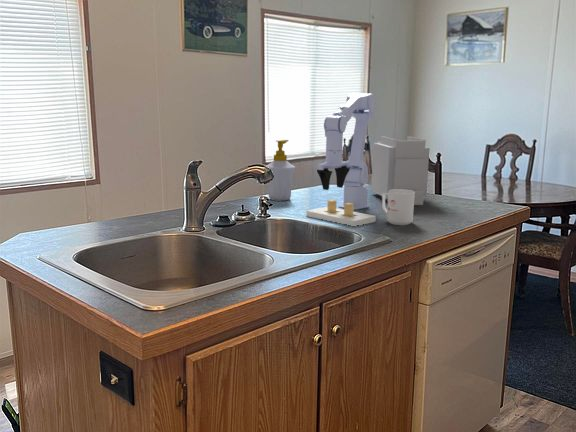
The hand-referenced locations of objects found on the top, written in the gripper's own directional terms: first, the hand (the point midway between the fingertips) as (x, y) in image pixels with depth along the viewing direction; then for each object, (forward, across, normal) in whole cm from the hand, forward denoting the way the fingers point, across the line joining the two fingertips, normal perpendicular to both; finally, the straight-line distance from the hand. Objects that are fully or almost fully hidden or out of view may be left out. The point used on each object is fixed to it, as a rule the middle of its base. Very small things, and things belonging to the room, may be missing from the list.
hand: (332, 188), depth 197 cm
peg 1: (+10, 0, 0) cm, 10 cm away
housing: (+10, 0, +4) cm, 11 cm away
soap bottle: (+11, -9, -37) cm, 40 cm away
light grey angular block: (+11, -50, -6) cm, 51 cm away
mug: (+11, -11, +20) cm, 25 cm away
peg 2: (+10, 0, +8) cm, 13 cm away
